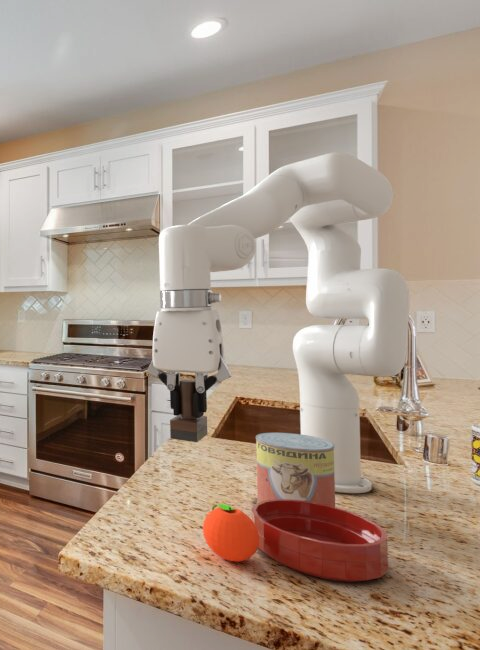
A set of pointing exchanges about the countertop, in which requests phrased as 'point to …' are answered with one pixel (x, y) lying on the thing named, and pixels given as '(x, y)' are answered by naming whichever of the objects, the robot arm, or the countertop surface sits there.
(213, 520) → the clementine
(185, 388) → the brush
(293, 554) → the bowl
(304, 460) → the canned food
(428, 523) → the countertop surface
